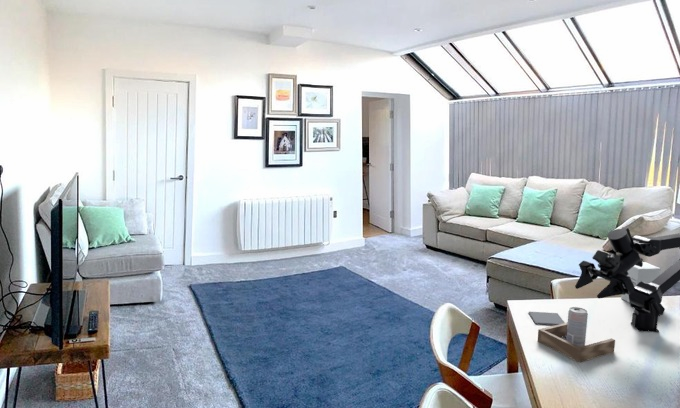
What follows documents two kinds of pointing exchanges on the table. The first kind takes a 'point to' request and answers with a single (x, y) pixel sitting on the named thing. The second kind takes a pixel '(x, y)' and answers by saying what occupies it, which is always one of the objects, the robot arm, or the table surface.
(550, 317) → the mat
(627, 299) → the supplement box
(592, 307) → the table surface
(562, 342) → the bay
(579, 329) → the energy drink
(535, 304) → the table surface
